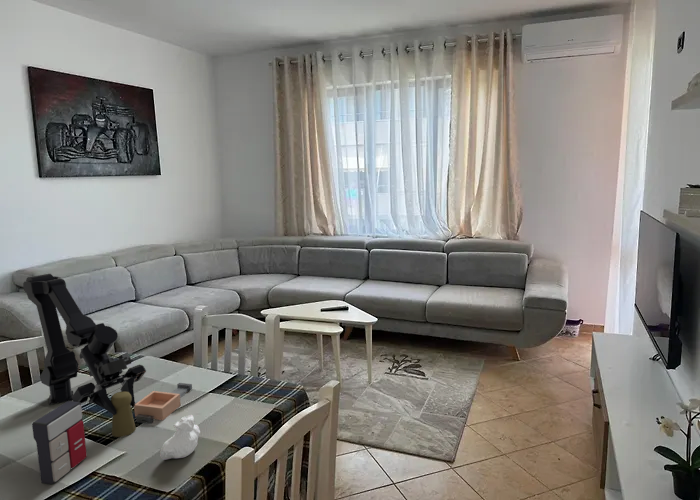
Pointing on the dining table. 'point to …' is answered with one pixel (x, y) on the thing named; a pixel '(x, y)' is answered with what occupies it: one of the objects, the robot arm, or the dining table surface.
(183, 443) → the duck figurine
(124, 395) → the cork
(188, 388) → the rail
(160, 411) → the tray
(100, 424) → the dining table surface
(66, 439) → the calculator
